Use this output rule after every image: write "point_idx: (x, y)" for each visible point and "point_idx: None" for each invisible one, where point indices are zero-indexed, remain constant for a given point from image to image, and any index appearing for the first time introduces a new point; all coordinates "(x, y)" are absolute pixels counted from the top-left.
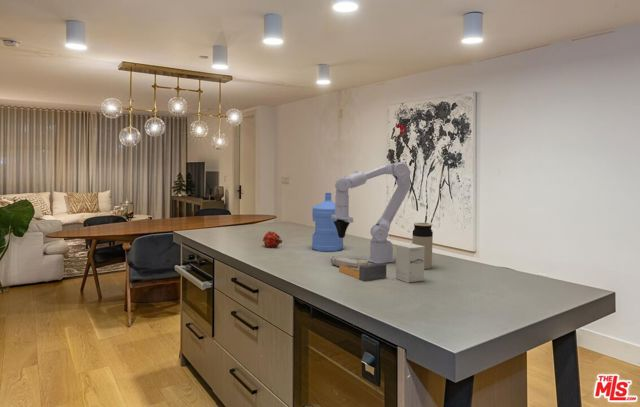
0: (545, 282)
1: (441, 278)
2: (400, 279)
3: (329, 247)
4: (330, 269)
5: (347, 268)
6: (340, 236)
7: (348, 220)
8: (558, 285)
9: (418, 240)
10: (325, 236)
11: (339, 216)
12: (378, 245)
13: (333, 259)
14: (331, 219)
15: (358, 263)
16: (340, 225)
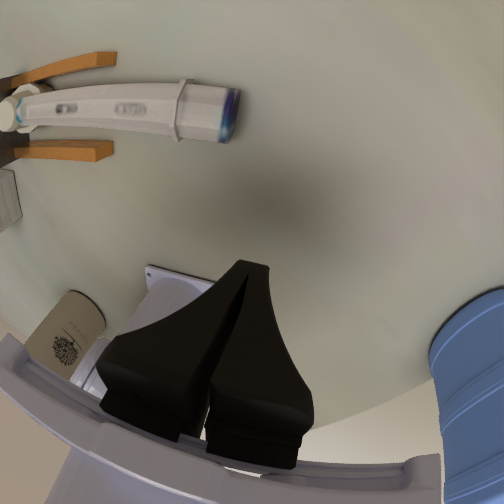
0: (12, 318)
1: (13, 250)
2: (3, 170)
3: (463, 321)
4: (162, 32)
5: (54, 63)
6: (232, 266)
7: (3, 356)
8: (5, 313)
9: (26, 344)
10: (496, 352)
11: (82, 460)
12: (122, 330)
13: (205, 86)
14: (489, 447)
15: (11, 96)
16: (136, 332)
